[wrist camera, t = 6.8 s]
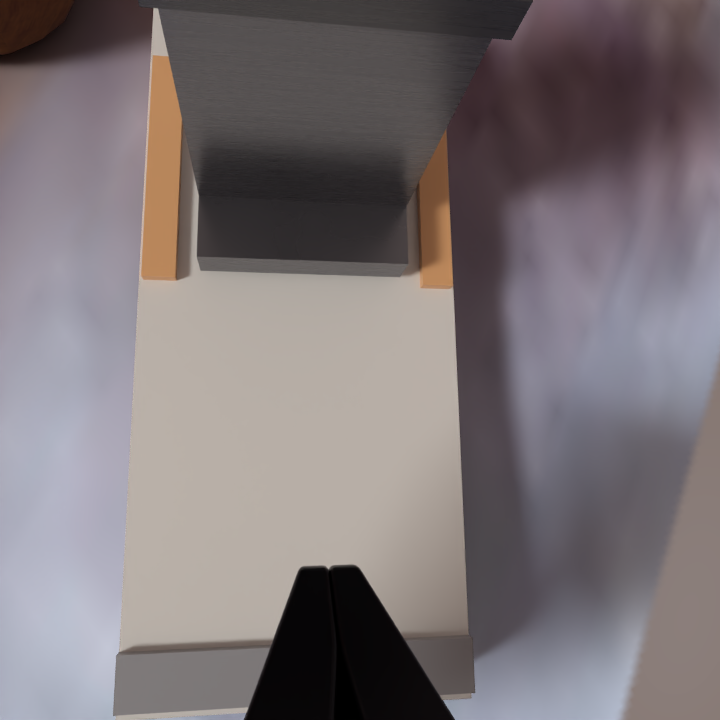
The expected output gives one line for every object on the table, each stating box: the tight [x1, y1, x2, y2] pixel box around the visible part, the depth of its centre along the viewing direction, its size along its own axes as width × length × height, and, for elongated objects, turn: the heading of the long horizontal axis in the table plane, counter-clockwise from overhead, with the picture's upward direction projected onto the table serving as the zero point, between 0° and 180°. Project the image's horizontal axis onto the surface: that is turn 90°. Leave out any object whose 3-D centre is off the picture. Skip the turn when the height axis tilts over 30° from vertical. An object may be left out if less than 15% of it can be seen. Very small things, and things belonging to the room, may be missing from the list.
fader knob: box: [138, 0, 533, 277], centre depth 13 cm, size 6×5×8 cm
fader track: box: [113, 8, 475, 720], centre depth 17 cm, size 18×8×2 cm, turn 1°
